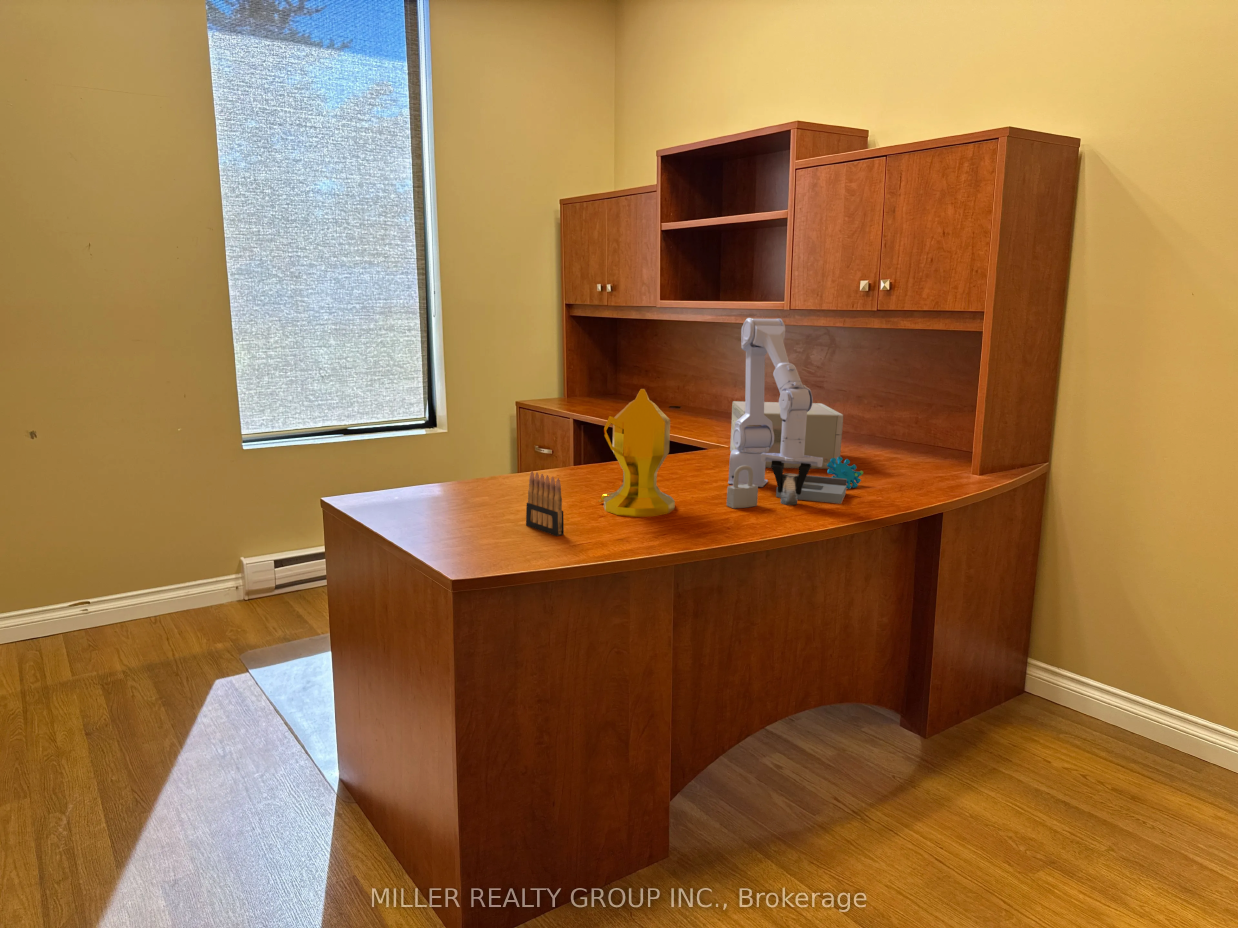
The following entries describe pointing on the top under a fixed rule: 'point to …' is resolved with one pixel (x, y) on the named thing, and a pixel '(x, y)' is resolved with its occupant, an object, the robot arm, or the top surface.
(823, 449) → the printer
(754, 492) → the padlock
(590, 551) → the top surface
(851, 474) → the gear
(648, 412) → the trophy cup
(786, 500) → the cylindrical peg
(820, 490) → the plate
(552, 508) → the ammunition clip
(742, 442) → the robot arm
